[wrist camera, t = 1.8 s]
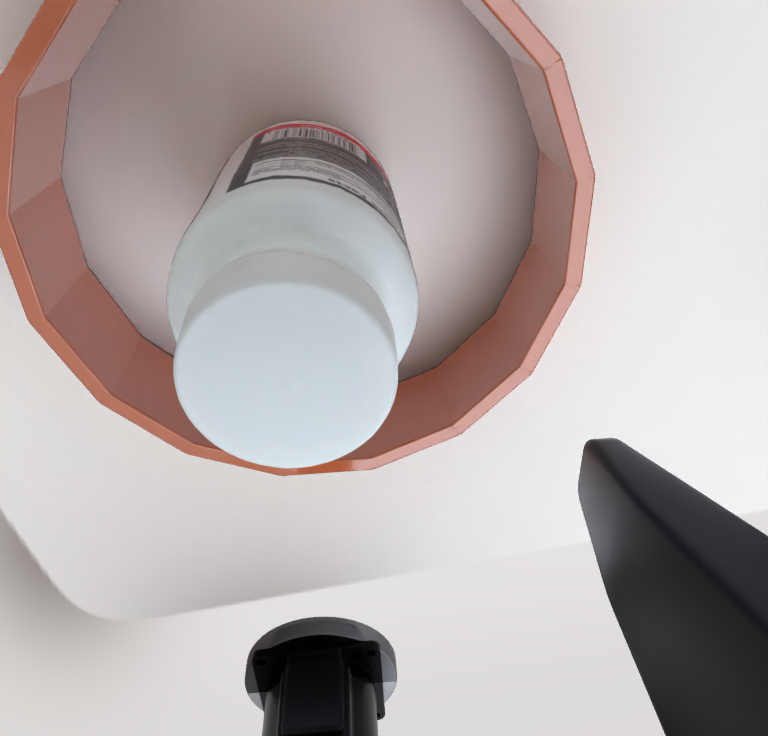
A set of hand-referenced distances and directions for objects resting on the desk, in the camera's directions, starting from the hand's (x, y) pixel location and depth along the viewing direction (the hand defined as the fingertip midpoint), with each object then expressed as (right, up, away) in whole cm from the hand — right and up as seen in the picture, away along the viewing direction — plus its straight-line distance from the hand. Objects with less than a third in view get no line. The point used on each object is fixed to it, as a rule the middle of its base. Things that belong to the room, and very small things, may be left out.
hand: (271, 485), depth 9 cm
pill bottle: (-1, +7, +11) cm, 13 cm away
